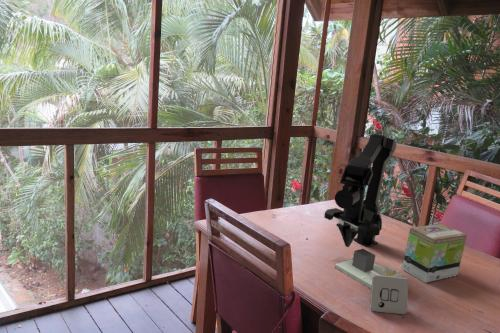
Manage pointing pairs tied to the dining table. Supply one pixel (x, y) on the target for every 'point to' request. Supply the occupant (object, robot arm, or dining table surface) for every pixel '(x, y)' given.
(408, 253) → the tea box
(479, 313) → the dining table surface
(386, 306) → the electrical switch
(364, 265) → the plug
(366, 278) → the board
